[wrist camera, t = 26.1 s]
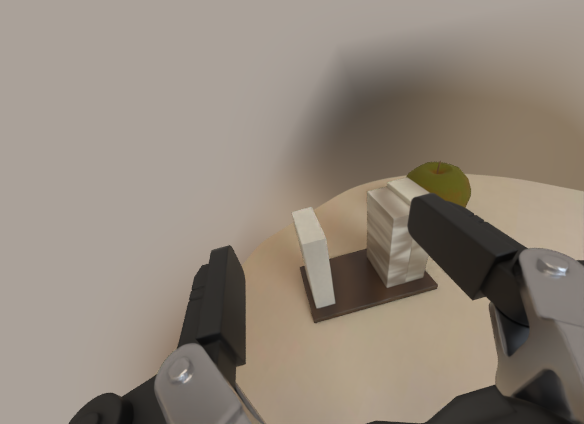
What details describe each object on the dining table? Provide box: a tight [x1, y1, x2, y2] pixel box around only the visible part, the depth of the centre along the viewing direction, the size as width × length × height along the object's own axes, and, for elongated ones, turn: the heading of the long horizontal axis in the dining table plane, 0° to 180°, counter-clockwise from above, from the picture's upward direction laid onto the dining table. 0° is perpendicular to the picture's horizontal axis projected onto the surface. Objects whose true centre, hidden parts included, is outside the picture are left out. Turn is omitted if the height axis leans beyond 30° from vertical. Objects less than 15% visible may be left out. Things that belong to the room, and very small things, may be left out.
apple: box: [407, 162, 471, 207], centre depth 36 cm, size 10×10×11 cm
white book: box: [292, 207, 335, 308], centre depth 28 cm, size 3×6×12 cm, turn 10°
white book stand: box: [300, 177, 438, 323], centre depth 28 cm, size 17×9×13 cm, turn 100°
